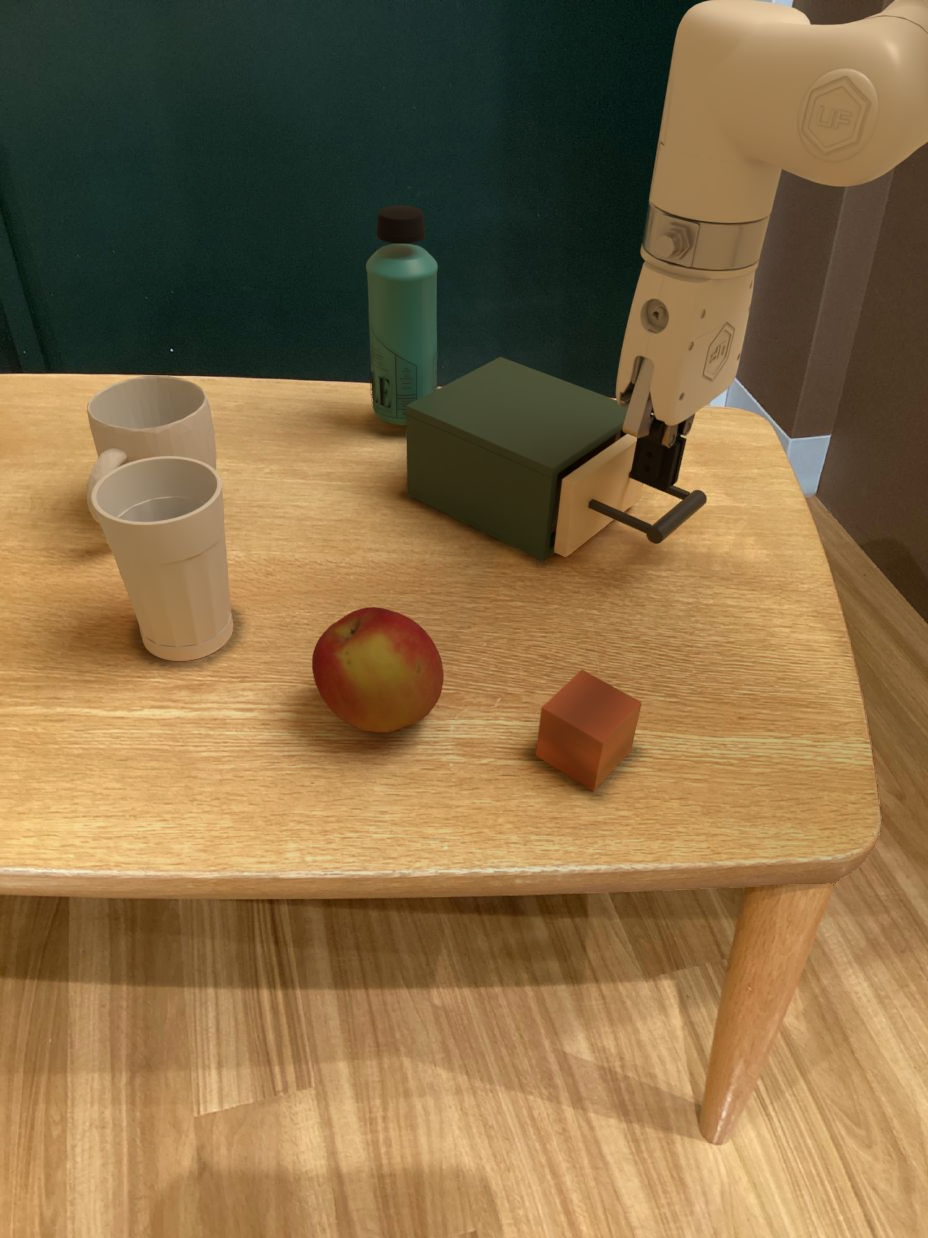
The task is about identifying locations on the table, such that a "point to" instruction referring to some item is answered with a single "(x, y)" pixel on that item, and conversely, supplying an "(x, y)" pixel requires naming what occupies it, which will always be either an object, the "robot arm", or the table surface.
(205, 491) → the cup
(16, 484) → the table surface
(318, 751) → the table surface
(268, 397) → the table surface
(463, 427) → the cabinet
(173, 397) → the mug
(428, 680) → the apple
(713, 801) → the table surface
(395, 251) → the beverage bottle
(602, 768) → the block
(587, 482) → the drawer
